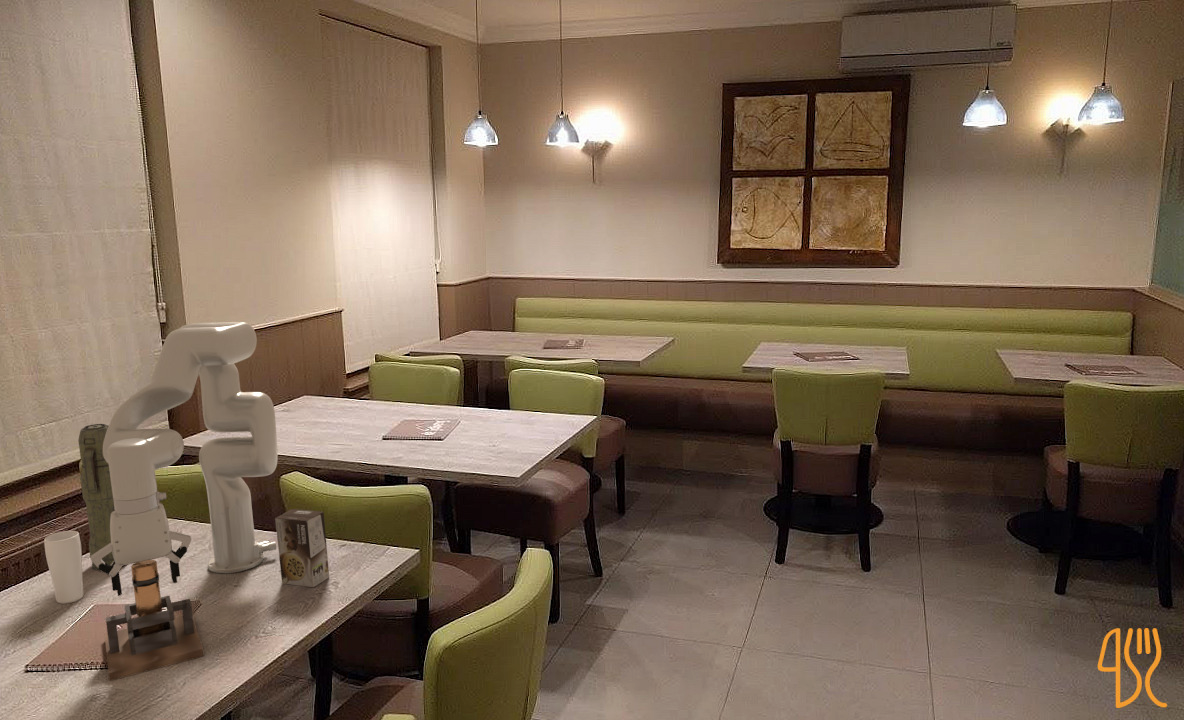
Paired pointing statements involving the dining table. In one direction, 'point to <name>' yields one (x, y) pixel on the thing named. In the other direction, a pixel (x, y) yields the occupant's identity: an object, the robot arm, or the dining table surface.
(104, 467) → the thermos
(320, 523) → the coffee box
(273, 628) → the dining table surface
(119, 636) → the collar stand
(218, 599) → the dining table surface
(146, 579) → the tan cylinder
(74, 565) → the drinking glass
